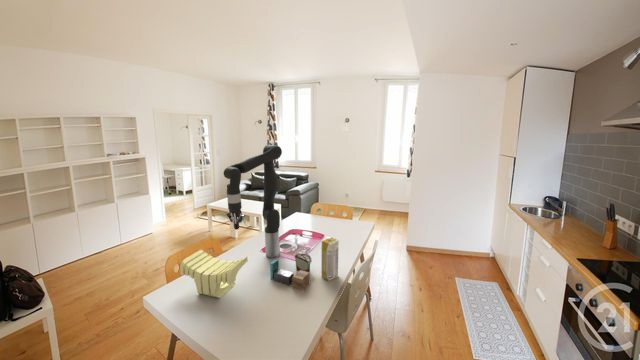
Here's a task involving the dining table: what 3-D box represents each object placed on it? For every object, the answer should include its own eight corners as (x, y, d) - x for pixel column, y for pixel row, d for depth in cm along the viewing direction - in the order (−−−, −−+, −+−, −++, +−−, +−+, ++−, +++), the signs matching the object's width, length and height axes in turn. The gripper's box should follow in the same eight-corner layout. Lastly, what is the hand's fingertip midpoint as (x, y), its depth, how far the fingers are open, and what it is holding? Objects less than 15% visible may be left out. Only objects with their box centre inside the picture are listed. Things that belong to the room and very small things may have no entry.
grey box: (276, 274, 161) (276, 259, 159) (305, 283, 153) (305, 266, 151) (270, 279, 156) (270, 263, 154) (300, 288, 147) (299, 271, 145)
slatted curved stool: (182, 293, 144) (179, 262, 140) (203, 277, 159) (201, 249, 155) (231, 303, 135) (229, 270, 132) (248, 286, 150) (247, 256, 147)
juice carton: (330, 271, 166) (330, 234, 162) (340, 276, 161) (340, 237, 156) (319, 277, 160) (319, 238, 155) (329, 282, 154) (329, 242, 150)
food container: (315, 272, 164) (315, 257, 163) (308, 276, 160) (308, 261, 158) (302, 265, 173) (301, 251, 171) (294, 269, 168) (294, 254, 166)
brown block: (300, 281, 155) (300, 269, 154) (309, 283, 153) (309, 272, 151) (292, 288, 148) (292, 276, 147) (302, 291, 146) (302, 279, 144)
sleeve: (279, 276, 160) (279, 268, 159) (293, 280, 156) (293, 272, 155) (274, 281, 155) (273, 272, 154) (288, 285, 151) (288, 277, 150)
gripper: (247, 200, 160) (249, 228, 163) (230, 198, 166) (233, 225, 169) (238, 204, 153) (240, 233, 157) (221, 201, 159) (223, 229, 163)
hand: (236, 229), depth 163 cm, fingers closed
